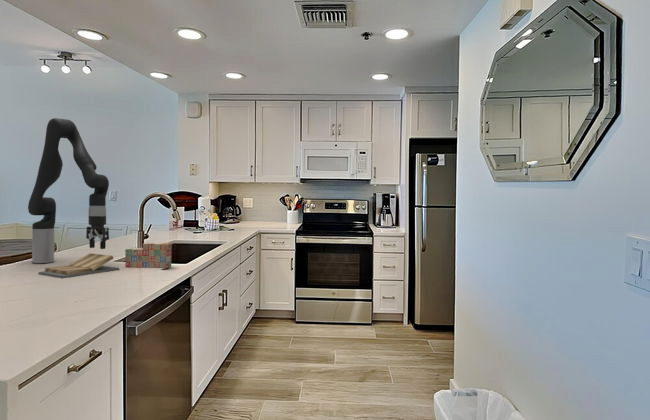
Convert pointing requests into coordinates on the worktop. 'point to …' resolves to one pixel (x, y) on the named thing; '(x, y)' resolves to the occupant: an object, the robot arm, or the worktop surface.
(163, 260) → the stack of blocks
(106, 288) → the worktop surface
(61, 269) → the laid plank
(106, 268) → the underlay mat
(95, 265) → the board
